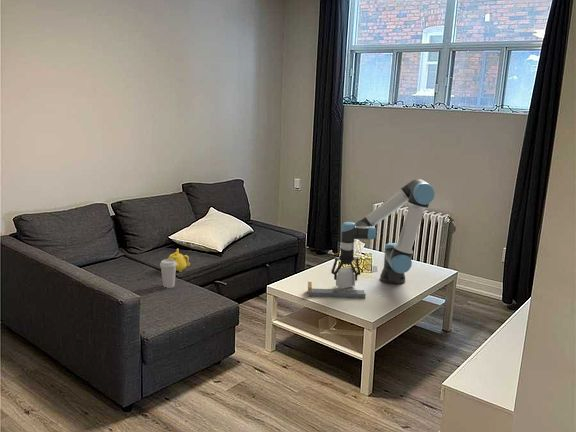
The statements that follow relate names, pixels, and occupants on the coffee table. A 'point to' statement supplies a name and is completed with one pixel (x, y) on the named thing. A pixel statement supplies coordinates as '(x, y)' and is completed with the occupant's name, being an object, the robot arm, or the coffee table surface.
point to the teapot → (179, 260)
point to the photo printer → (345, 277)
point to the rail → (335, 293)
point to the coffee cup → (168, 272)
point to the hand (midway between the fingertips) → (345, 285)
